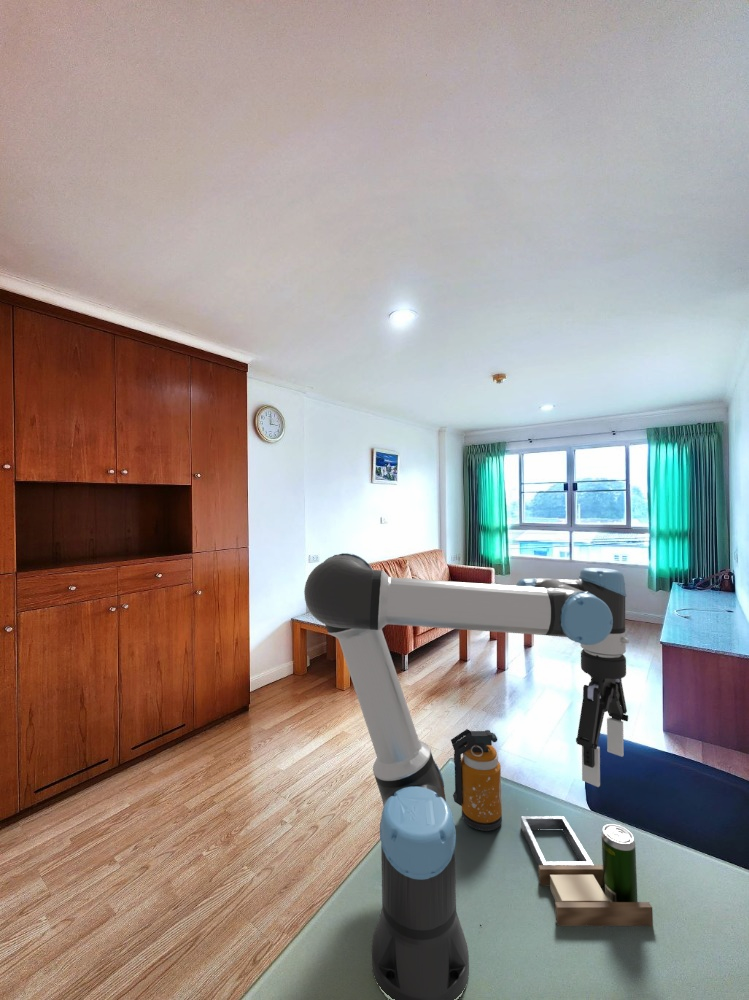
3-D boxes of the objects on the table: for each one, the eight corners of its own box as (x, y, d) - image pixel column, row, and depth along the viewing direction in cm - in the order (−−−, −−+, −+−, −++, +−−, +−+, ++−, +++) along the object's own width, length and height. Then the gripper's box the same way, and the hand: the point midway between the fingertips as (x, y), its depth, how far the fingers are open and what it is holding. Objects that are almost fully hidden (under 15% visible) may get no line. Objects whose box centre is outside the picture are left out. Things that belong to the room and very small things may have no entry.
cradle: (594, 878, 83) (593, 864, 83) (543, 878, 84) (543, 864, 84) (564, 827, 97) (564, 816, 97) (521, 827, 97) (520, 816, 97)
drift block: (562, 918, 76) (562, 900, 76) (550, 891, 81) (549, 874, 81) (609, 918, 75) (608, 900, 76) (593, 891, 81) (592, 874, 81)
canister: (507, 833, 95) (504, 740, 96) (456, 834, 96) (454, 741, 96) (496, 806, 104) (493, 721, 105) (450, 806, 105) (448, 722, 105)
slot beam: (558, 925, 74) (557, 907, 74) (538, 881, 83) (538, 865, 83) (652, 925, 74) (652, 907, 74) (623, 881, 83) (622, 864, 83)
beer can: (628, 921, 74) (625, 849, 75) (597, 898, 79) (595, 830, 79) (643, 905, 77) (641, 836, 78) (613, 884, 82) (611, 819, 82)
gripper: (602, 673, 70) (603, 808, 69) (643, 642, 88) (644, 750, 87) (555, 662, 75) (556, 787, 75) (603, 635, 93) (604, 736, 92)
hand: (603, 767), depth 81 cm, fingers open, 13 cm apart
